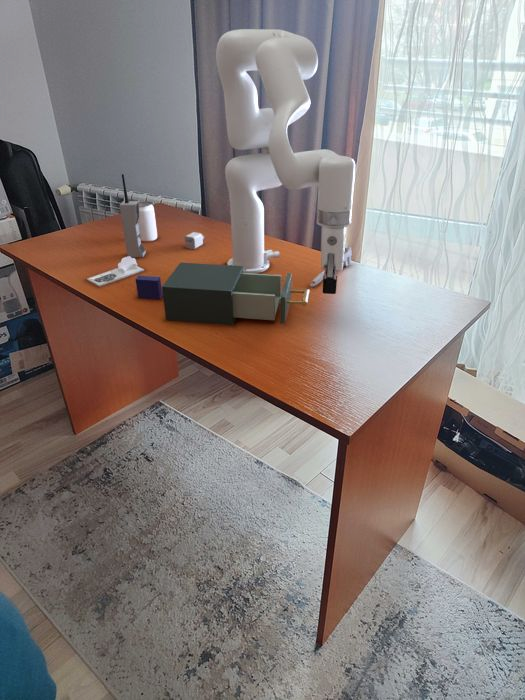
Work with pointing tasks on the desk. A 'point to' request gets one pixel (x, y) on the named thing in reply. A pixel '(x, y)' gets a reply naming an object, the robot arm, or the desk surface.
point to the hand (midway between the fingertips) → (329, 292)
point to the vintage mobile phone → (131, 226)
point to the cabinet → (201, 293)
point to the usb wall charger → (194, 240)
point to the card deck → (149, 287)
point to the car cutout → (117, 272)
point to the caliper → (346, 261)
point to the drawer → (264, 296)
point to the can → (147, 221)
